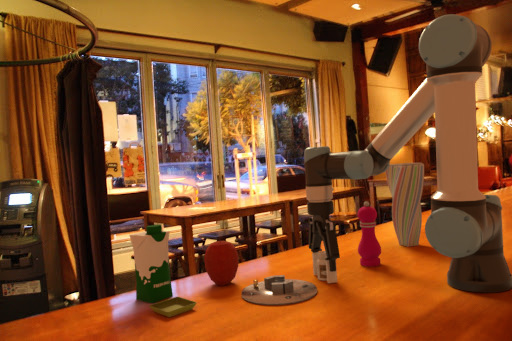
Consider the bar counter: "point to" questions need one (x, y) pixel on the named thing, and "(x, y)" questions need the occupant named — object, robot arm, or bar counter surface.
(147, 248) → the milk carton
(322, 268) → the pill bottle
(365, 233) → the pepper mill
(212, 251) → the apple
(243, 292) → the flange plate
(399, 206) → the vase
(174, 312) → the olive square tray
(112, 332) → the bar counter surface
